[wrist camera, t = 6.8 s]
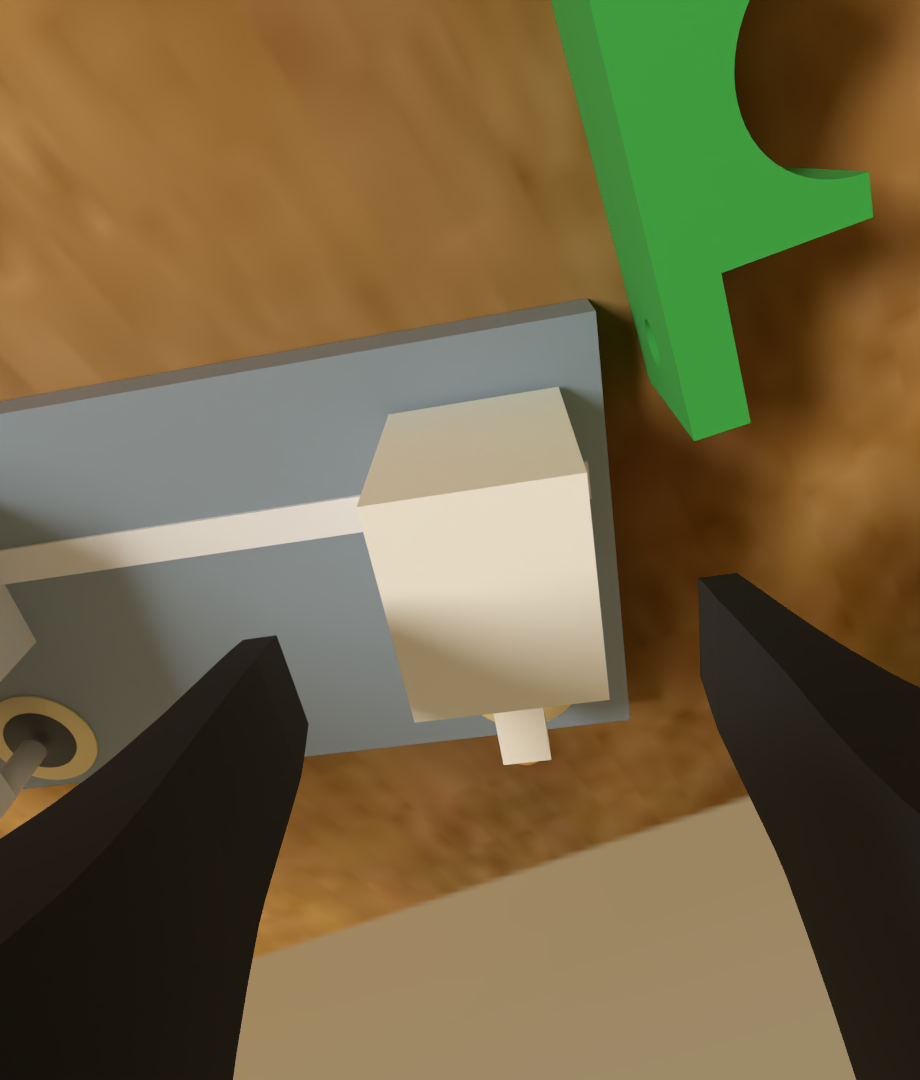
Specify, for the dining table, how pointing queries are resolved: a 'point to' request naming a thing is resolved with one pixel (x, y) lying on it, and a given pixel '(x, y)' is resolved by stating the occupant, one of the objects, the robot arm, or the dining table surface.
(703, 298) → the pipe clamp
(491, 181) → the dining table surface
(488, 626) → the block
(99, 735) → the plate
